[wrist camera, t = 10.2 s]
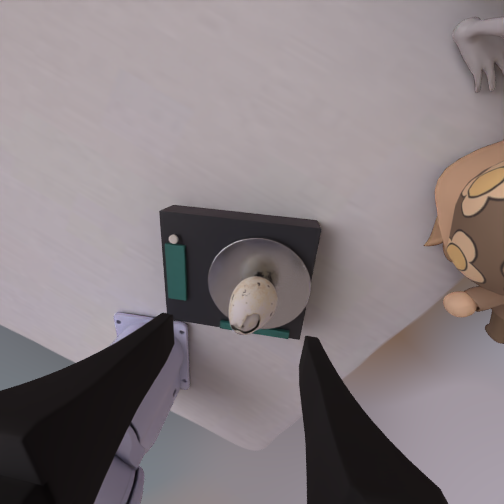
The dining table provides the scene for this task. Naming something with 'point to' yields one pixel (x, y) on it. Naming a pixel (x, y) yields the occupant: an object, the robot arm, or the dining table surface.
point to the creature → (481, 47)
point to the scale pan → (261, 275)
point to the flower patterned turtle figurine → (474, 232)
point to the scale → (206, 249)
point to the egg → (252, 305)
